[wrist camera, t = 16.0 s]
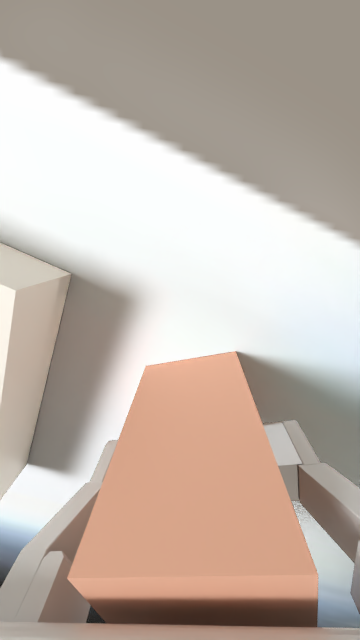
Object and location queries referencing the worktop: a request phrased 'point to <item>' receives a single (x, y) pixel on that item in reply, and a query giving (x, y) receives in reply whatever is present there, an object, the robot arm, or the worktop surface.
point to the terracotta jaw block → (195, 511)
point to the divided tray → (25, 350)
